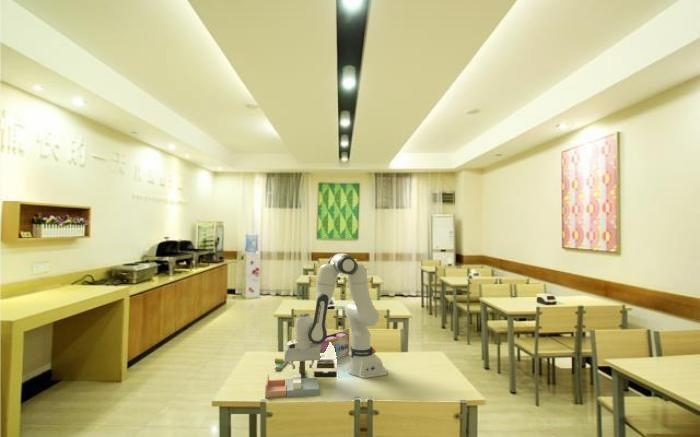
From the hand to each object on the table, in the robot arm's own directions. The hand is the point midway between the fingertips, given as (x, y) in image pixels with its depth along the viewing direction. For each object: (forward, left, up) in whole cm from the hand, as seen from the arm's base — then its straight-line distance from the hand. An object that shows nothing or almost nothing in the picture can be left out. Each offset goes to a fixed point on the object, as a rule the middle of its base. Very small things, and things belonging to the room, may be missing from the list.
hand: (302, 368), depth 192 cm
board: (0, +16, -5) cm, 17 cm away
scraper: (0, 0, -5) cm, 5 cm away
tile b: (+3, +19, -2) cm, 20 cm away
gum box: (-20, -27, -5) cm, 34 cm away
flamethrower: (+11, -23, -5) cm, 26 cm away
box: (+13, +16, -5) cm, 21 cm away
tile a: (+3, +12, -2) cm, 13 cm away
